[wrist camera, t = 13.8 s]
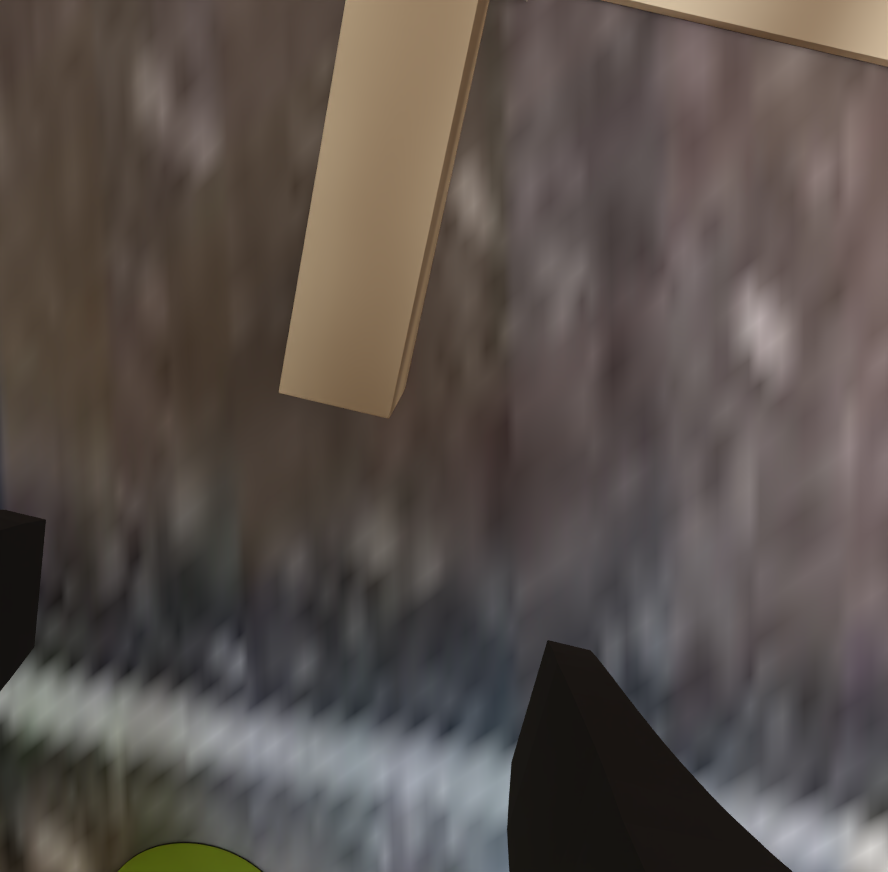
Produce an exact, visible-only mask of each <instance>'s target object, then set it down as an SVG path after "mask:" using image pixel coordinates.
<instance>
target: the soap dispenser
mask: <svg viewBox="0 0 888 872" xmlns="http://www.w3.org/2000/svg"><path fill="white" fill-rule="evenodd" d="M118 872H261V871H260V870H259V869H257V868H256V867H255V866H253V865H252V864H250V863H249V862H247V861H246V860H244V859H242V858H240V857H238V856H236V855H234V854H232V853H230V852H227V851H225V850H222V849H219V848H215V847H211V846H207V845H201V844H192V843H176V844H168V845H162V846H158V847H155V848H152V849H149V850H146V851H144V852H142V853H140V854H138V855H137V856H135V857H133V858H132V859H131V860H129V861H128V862H127V863H126V864H125V865H123V867H122V868H121V869H120V870H119V871H118Z"/></svg>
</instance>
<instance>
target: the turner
mask: <svg viewBox="0 0 888 872" xmlns="http://www.w3.org/2000/svg"><path fill="white" fill-rule="evenodd" d="M525 1H527V0H525ZM488 5H489V0H346V2H345V8H344V14H343V20H342V26H341V32H340V37H339V43H338V49H337V55H336V61H335V67H334V72H333V78H332V84H331V90H330V96H329V102H328V107H327V113H326V119H325V125H324V131H323V136H322V142H321V148H320V154H319V160H318V166H317V171H316V177H315V183H314V189H313V195H312V201H311V206H310V212H309V218H308V224H307V230H306V236H305V241H304V247H303V253H302V259H301V265H300V271H299V276H298V282H297V288H296V294H295V300H294V306H293V311H292V317H291V323H290V329H289V335H288V340H287V346H286V352H285V358H284V364H283V370H282V375H281V381H280V387H279V393H282V394H286V395H291V396H295V397H299V398H303V399H307V400H312V401H316V402H320V403H324V404H329V405H333V406H337V407H341V408H345V409H350V410H354V411H358V412H362V413H367V414H371V415H375V416H379V417H383V418H388V419H389V418H390V416H391V414H392V412H393V410H394V409H395V407H396V405H397V403H398V401H399V399H400V398H401V396H402V394H403V392H404V390H405V387H406V383H407V378H408V373H409V369H410V364H411V359H412V355H413V350H414V346H415V341H416V336H417V332H418V327H419V323H420V318H421V313H422V309H423V304H424V300H425V295H426V290H427V286H428V281H429V277H430V272H431V267H432V263H433V258H434V253H435V249H436V244H437V240H438V235H439V230H440V226H441V221H442V217H443V212H444V207H445V203H446V198H447V194H448V189H449V184H450V180H451V175H452V171H453V166H454V161H455V157H456V152H457V147H458V143H459V138H460V134H461V129H462V124H463V120H464V115H465V111H466V106H467V101H468V97H469V92H470V88H471V83H472V78H473V74H474V69H475V65H476V60H477V55H478V51H479V46H480V41H481V37H482V32H483V28H484V23H485V18H486V14H487V9H488Z"/></svg>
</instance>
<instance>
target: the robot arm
mask: <svg viewBox="0 0 888 872" xmlns="http://www.w3.org/2000/svg"><path fill="white" fill-rule="evenodd" d="M45 524H46V520H45V519H41V518H36V517H32V516H28V515H24V514H20V513H16V512H11V511H7V510H0V691H1V690H2V688H3V687H4V686H5V685H6V683H7V682H8V681H9V680H10V678H11V677H12V676H13V674H14V673H15V672H16V670H17V669H18V668H19V666H20V665H21V664H22V662H23V661H24V660H25V658H26V657H27V656H28V654H29V653H30V652H31V650H32V649H33V648H34V644H35V633H36V622H37V611H38V600H39V589H40V578H41V567H42V556H43V546H44V535H45ZM507 835H508V854H509V872H792V871H791V870H790V869H789V868H788V867H787V866H785V865H784V864H783V863H782V862H781V861H780V860H778V859H777V858H776V857H775V856H774V855H773V854H772V853H770V852H769V851H768V850H767V849H766V848H765V847H764V846H763V845H762V844H761V843H760V842H759V841H758V840H757V839H755V838H754V837H753V836H752V835H751V834H750V833H749V832H748V831H747V830H746V829H745V828H744V827H743V826H742V825H740V824H739V823H738V822H737V821H736V820H735V819H734V818H733V817H732V816H731V815H730V814H729V813H728V812H727V811H726V810H725V809H724V808H723V807H722V806H721V805H720V804H719V803H718V802H717V801H716V800H715V799H714V798H713V797H712V796H711V795H710V794H709V793H708V792H707V791H706V789H705V788H704V787H703V786H702V785H701V784H700V783H699V782H698V781H697V780H696V779H695V777H694V776H693V775H692V774H691V773H690V772H689V771H688V770H687V769H686V768H685V767H684V765H683V764H682V763H681V762H680V761H679V760H678V759H677V758H676V756H675V755H674V754H673V753H672V752H671V751H670V749H669V748H668V747H667V746H666V745H665V744H664V742H663V741H662V740H661V739H660V737H659V736H658V735H657V734H656V733H655V731H654V730H653V729H652V728H651V726H650V725H649V724H648V723H647V721H646V720H645V719H644V718H643V716H642V715H641V714H640V713H639V711H638V710H637V709H636V708H635V706H634V705H633V704H632V702H631V701H630V700H629V699H628V697H627V696H626V695H625V693H624V692H623V691H622V689H621V688H620V687H619V685H618V684H617V683H616V682H615V680H614V679H613V678H612V676H611V675H610V674H609V672H608V671H607V670H606V668H605V667H604V666H603V665H602V663H601V662H600V661H599V660H598V658H597V657H596V656H595V655H594V654H593V653H592V652H591V650H586V649H582V648H578V647H574V646H570V645H566V644H561V643H557V642H553V641H549V640H548V641H547V644H546V647H545V651H544V654H543V658H542V661H541V664H540V668H539V671H538V675H537V678H536V681H535V685H534V688H533V691H532V695H531V698H530V702H529V705H528V708H527V712H526V715H525V719H524V722H523V725H522V729H521V732H520V735H519V739H518V742H517V746H516V749H515V752H514V756H513V759H512V764H511V778H510V791H509V807H508V825H507Z"/></svg>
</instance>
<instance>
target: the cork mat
mask: <svg viewBox="0 0 888 872" xmlns="http://www.w3.org/2000/svg"><path fill="white" fill-rule="evenodd" d="M602 1H607V2H611V3H615V4H620V5H624V6H628V7H633V8H637V9H641V10H645V11H650V12H654V13H658V14H663V15H667V16H671V17H676V18H680V19H684V20H689V21H693V22H697V23H701V24H706V25H710V26H714V27H719V28H723V29H727V30H732V31H736V32H740V33H744V34H749V35H753V36H757V37H762V38H766V39H770V40H775V41H779V42H783V43H788V44H792V45H796V46H800V47H805V48H809V49H813V50H818V51H822V52H826V53H831V54H835V55H839V56H844V57H848V58H852V59H856V60H861V61H865V62H869V63H874V64H878V65H882V66H887V67H888V0H602Z"/></svg>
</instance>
